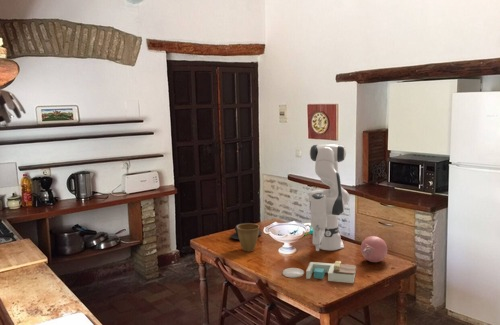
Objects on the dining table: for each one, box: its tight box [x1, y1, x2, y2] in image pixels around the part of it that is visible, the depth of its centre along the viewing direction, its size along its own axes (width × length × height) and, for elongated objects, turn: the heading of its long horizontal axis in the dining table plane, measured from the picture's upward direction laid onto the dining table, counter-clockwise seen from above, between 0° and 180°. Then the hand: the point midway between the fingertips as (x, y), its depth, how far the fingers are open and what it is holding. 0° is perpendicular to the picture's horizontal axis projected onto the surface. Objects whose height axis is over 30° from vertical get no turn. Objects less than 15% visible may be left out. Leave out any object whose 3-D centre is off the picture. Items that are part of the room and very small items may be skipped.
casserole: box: [229, 222, 263, 240], centre depth 324 cm, size 25×19×8 cm
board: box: [305, 261, 357, 284], centre depth 249 cm, size 14×26×4 cm, turn 72°
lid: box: [333, 260, 357, 275], centre depth 245 cm, size 11×11×3 cm
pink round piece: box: [360, 235, 388, 263], centre depth 266 cm, size 15×20×15 cm
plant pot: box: [237, 223, 260, 252], centre depth 296 cm, size 15×15×16 cm
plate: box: [282, 267, 305, 279], centre depth 255 cm, size 12×12×1 cm
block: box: [313, 268, 326, 280], centre depth 249 cm, size 5×5×4 cm
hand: (318, 247), depth 247 cm, fingers open, 8 cm apart
